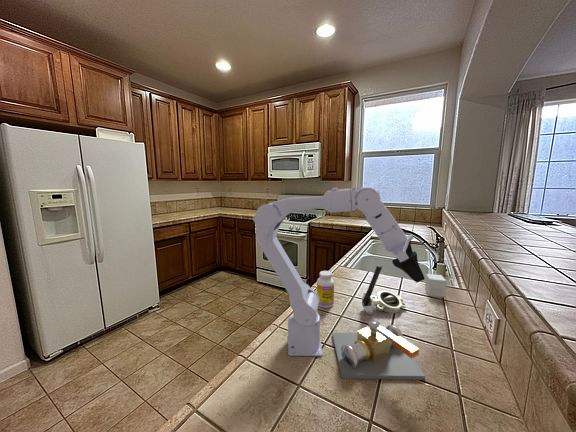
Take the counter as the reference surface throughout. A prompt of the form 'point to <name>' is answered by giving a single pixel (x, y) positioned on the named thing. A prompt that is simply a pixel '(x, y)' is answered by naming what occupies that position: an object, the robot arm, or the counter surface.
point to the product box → (435, 285)
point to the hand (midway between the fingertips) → (417, 273)
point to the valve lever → (395, 339)
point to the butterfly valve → (381, 298)
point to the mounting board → (377, 363)
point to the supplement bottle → (325, 289)
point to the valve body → (369, 346)
